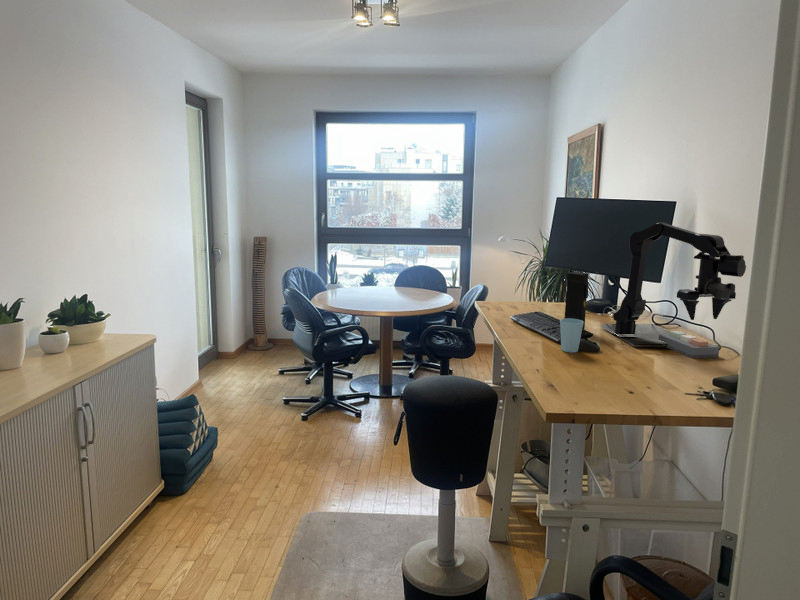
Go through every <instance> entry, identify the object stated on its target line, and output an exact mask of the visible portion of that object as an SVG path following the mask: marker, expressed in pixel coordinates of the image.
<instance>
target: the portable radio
mask: <svg viewBox="0 0 800 600" xmlns="http://www.w3.org/2000/svg"><path fill="white" fill-rule="evenodd" d="M572 268H573V265H570V270H569V271H568V272H567V273H566V281H567V283H566V293H565V294H566V296H565V306H564V318H563V319H566V318H570V319H578V320H582V321H583V322H584V323H583V328H582V331H584V330H585V327H586V312H587V299H588V298H589V275H590V273H588V272H587V273H586V272H580V271H572Z"/></svg>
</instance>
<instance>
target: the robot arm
mask: <svg viewBox="0 0 800 600" xmlns="http://www.w3.org/2000/svg"><path fill="white" fill-rule="evenodd" d="M662 236H664V237H668V238H670V239H674V240H677V241H679V242H683V243H686V244H689V245H691V246H692V247H693V248H695V249H696V250H698V251H699V252H698V253H697V254H696V255H694V257H693V259H695V260H699V267H698V268H699V269H698V274H697V275H695V279H698V280H697V287H694V289H689V288H687V289H686V288H685V289H678V291H677V292H676V298H677V299H679V300H680V301H682V302H683V304H684V307H685V309H686V311H687V314H688V317H689V319H690V320H691V321H694V320H695V316H696V311H697V309H696V308H697V305H698V303H700V300H698V299H699V298H708V297H710V298H711V305H712V309H711V310H712V319H713V320H717V319H718V317H719V315H720V314H721V311H722V309H723V308H724V307H725V305H726V304H727V303H729V302H732V301H733V300H736V296H737V292H736V284H735V283H733V282H727V283H722V277H719V273H720V275H722V276H729V277H738V278H742V277H743V276H744V274H745V273H746V270H747V265H746V261H745V259H744V257H745V255H741V254H739V255H738V254H737V255H735V254H731V253H730V252H729V250H728V248H727V247H726V245H725V240H724V238H723V237H722V236H721V235H719V234H718V235H717V234H715V235H714V234H709V233H697V232H694V231H692V230H688V229H685V228H682V227H678V226H675V225H672V224H669V223H667V222H657V223H656V222H655V224H654V225H651V226H649V227H647V228H644V229H643V230H640V231H636V232H633V233H632V234H631V235H629V238H628V242H629V243H628V245H629V250H630V253H631V261H630V269H629V274H628V275H629V276H628V285H627V290H626V291H627V292H626V294H625V296H624V297H623V299H622V301H621V304H620V307H619V309H618V310H617V311H616V312H614V313H613V314H612V317H613V321H615V329H614V332H612V335H614V336H616V337H618V336H617V335H615V334H614V333H616V334H635V335H636V329H637V328H636V327H637V324H636V321H637V320H639V318H640V316H641V315H643V314H644V311H646V303H647V300H646V299H643V297H642V290H643V283H644V275H645V268H646V260H647V256H648V254H650V252H651V250H652V248H653V245H654V242H656V241H657V240H660V238H662Z"/></svg>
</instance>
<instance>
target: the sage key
mask: <svg viewBox="0 0 800 600" xmlns="http://www.w3.org/2000/svg"><path fill="white" fill-rule="evenodd" d="M669 334H670V336H672V337H674V338H680V337H681V335H687V333H686V332H683V331H680V330H676V331H674V330H671V331H670V332H669Z"/></svg>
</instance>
